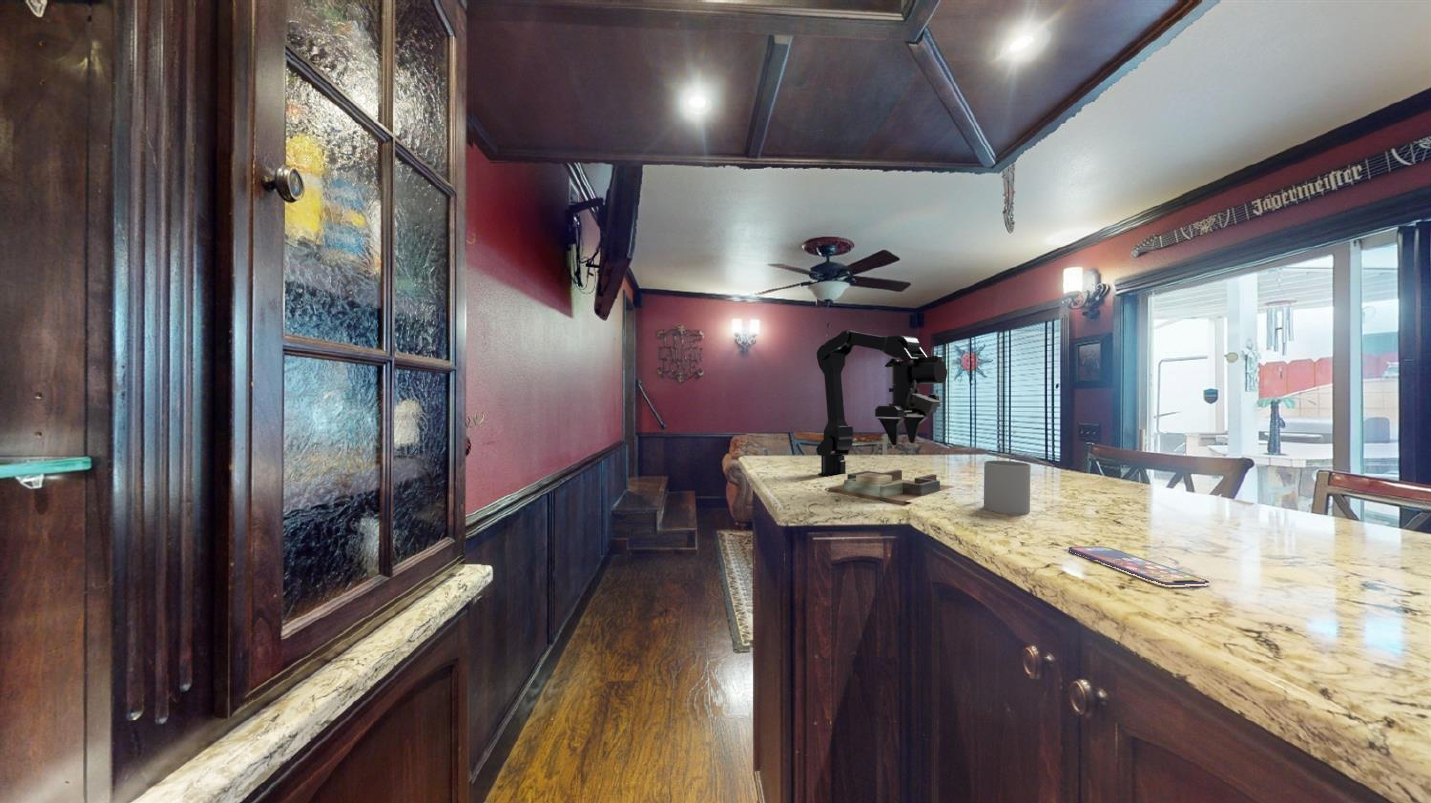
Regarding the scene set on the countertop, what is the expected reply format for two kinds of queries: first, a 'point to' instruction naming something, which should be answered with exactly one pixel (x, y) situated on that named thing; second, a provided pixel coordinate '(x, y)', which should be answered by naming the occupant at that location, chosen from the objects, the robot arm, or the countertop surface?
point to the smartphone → (1137, 566)
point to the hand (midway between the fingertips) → (903, 444)
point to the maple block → (874, 478)
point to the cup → (1007, 487)
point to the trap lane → (890, 488)
